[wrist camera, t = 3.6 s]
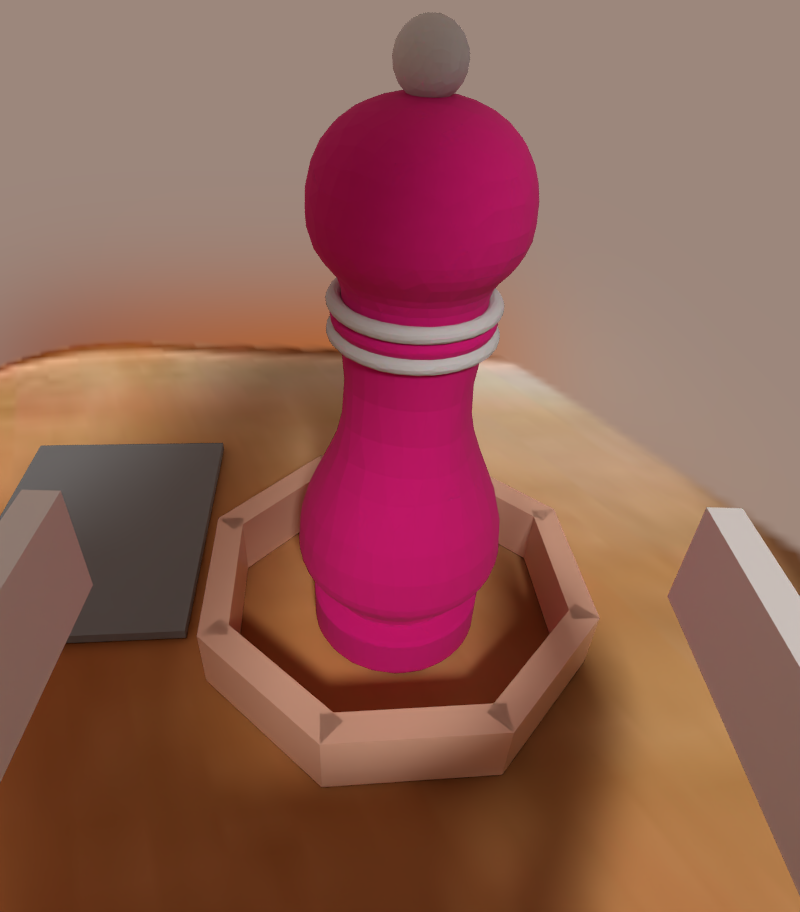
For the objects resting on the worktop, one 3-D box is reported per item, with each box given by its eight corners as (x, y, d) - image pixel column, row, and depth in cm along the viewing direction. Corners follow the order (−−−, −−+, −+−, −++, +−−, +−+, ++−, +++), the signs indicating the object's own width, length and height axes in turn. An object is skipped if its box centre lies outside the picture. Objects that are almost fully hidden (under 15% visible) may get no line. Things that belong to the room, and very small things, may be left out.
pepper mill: (467, 709, 23) (598, 37, 11) (274, 659, 24) (205, 7, 12) (495, 565, 29) (602, 16, 17) (338, 530, 30) (332, -4, 18)
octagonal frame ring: (521, 491, 33) (530, 451, 31) (623, 766, 22) (644, 724, 20) (235, 498, 31) (229, 456, 30) (187, 796, 20) (174, 754, 19)
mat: (223, 449, 34) (222, 442, 34) (186, 637, 25) (184, 630, 25) (43, 452, 33) (40, 445, 33) (-68, 649, 24) (-72, 642, 24)
